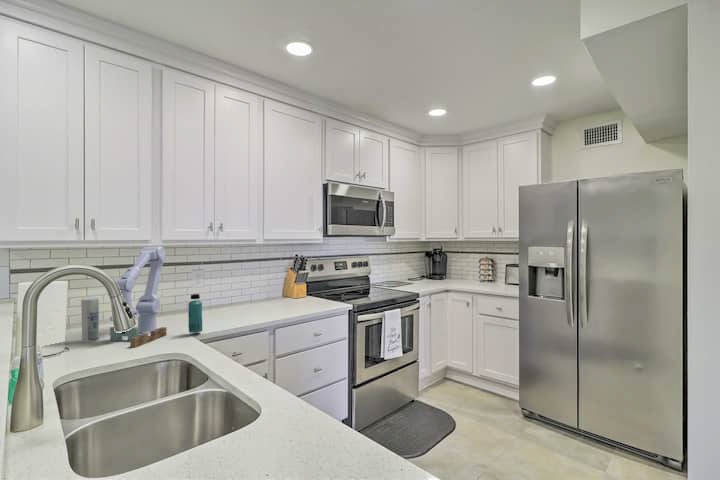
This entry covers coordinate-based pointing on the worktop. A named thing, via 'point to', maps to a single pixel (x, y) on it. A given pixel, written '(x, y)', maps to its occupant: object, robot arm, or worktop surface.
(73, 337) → the worktop surface
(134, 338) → the slotted board
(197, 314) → the beverage bottle
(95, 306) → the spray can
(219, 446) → the worktop surface
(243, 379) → the worktop surface
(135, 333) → the slotted plate
